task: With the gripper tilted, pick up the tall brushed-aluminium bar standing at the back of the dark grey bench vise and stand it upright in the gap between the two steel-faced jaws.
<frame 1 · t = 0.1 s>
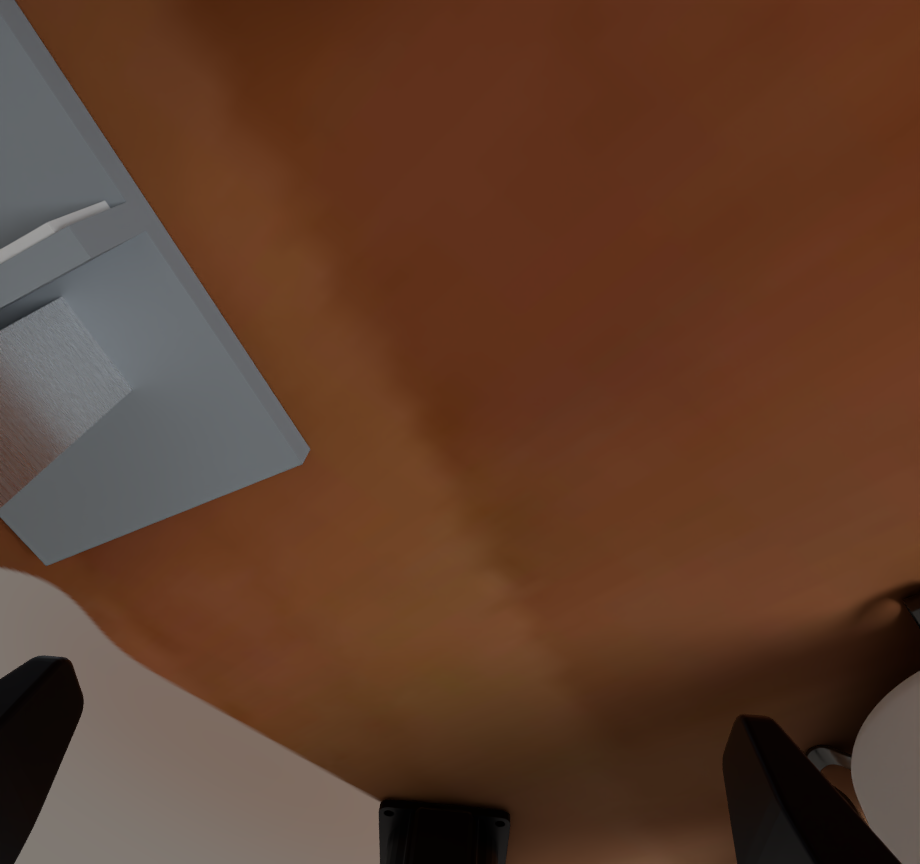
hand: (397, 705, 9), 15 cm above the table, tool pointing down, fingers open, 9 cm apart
vise: (13, 294, 23), on the table
aluminium bar: (46, 370, 23), point 1 cm above the table, touching vise
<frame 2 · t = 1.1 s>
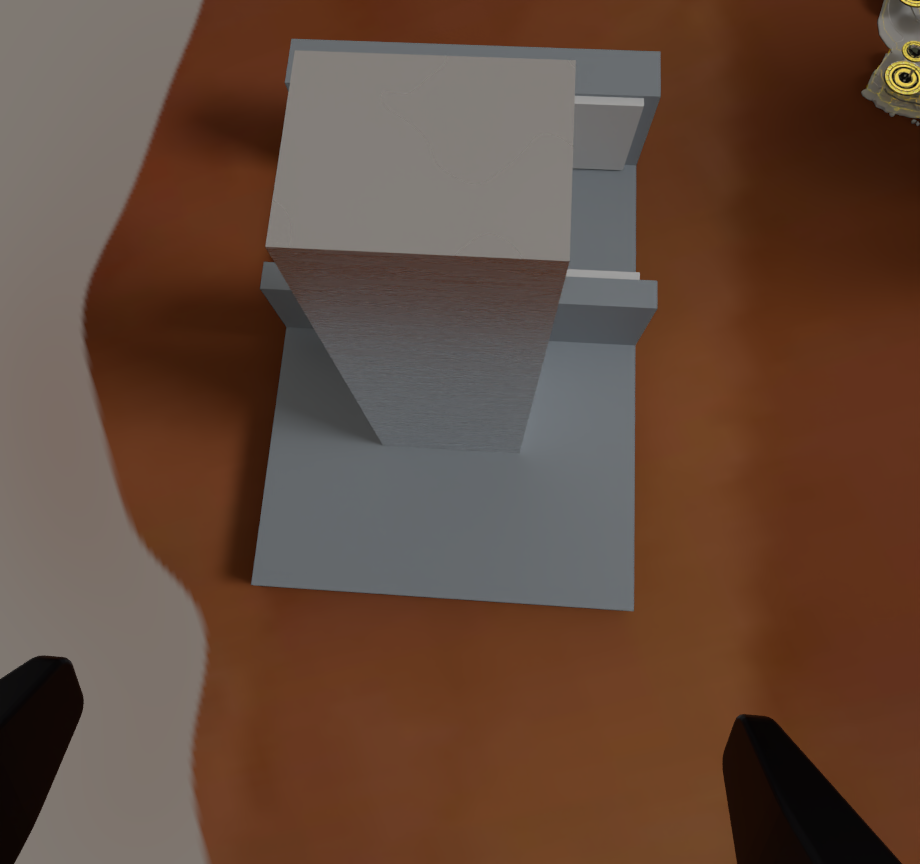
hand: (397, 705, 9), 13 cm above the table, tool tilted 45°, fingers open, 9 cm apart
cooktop: (908, 63, 28), on the table
vise: (460, 340, 25), on the table
aluminium bar: (454, 398, 23), point 1 cm above the table, touching vise
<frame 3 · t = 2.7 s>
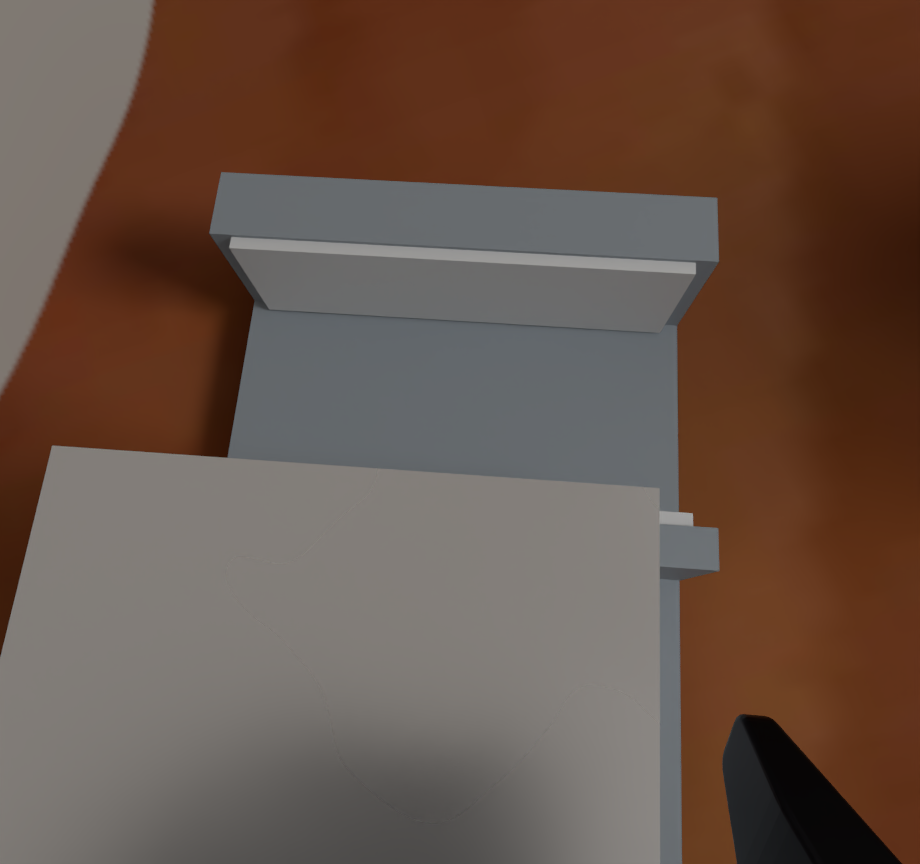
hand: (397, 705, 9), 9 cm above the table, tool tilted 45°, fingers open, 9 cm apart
vise: (444, 556, 19), on the table
aluminium bar: (434, 654, 17), point 1 cm above the table, touching vise
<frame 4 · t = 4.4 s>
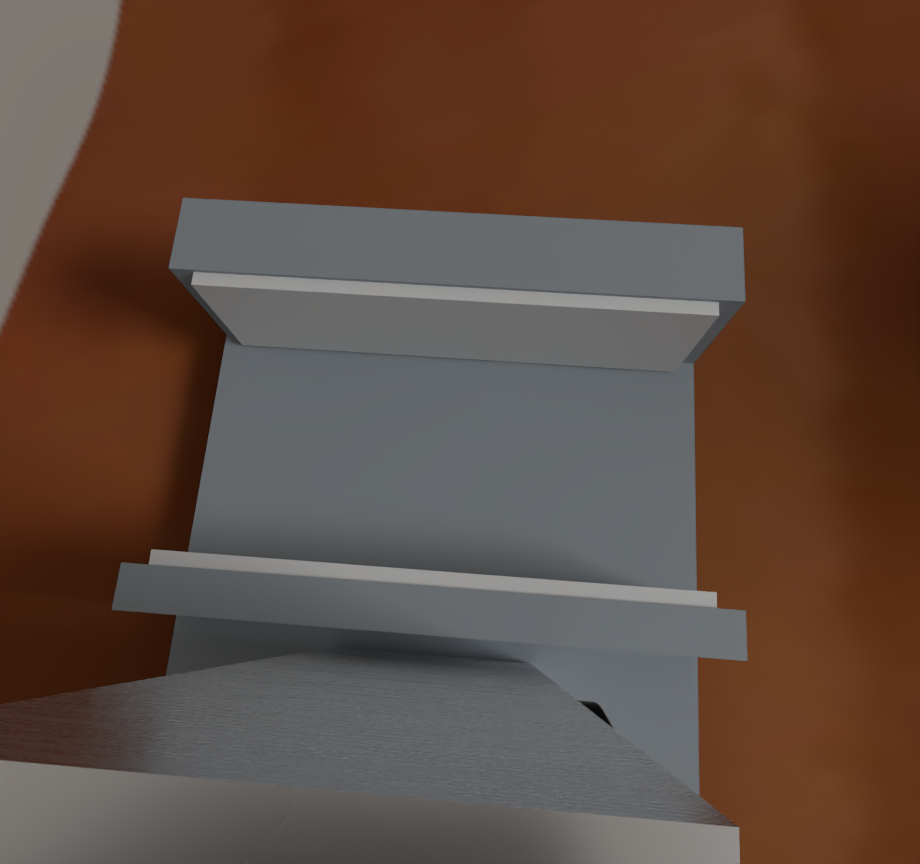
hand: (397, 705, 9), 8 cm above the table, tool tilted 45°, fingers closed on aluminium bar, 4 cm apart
vise: (436, 621, 17), on the table
aluminium bar: (424, 737, 15), point 1 cm above the table, touching gripper, vise
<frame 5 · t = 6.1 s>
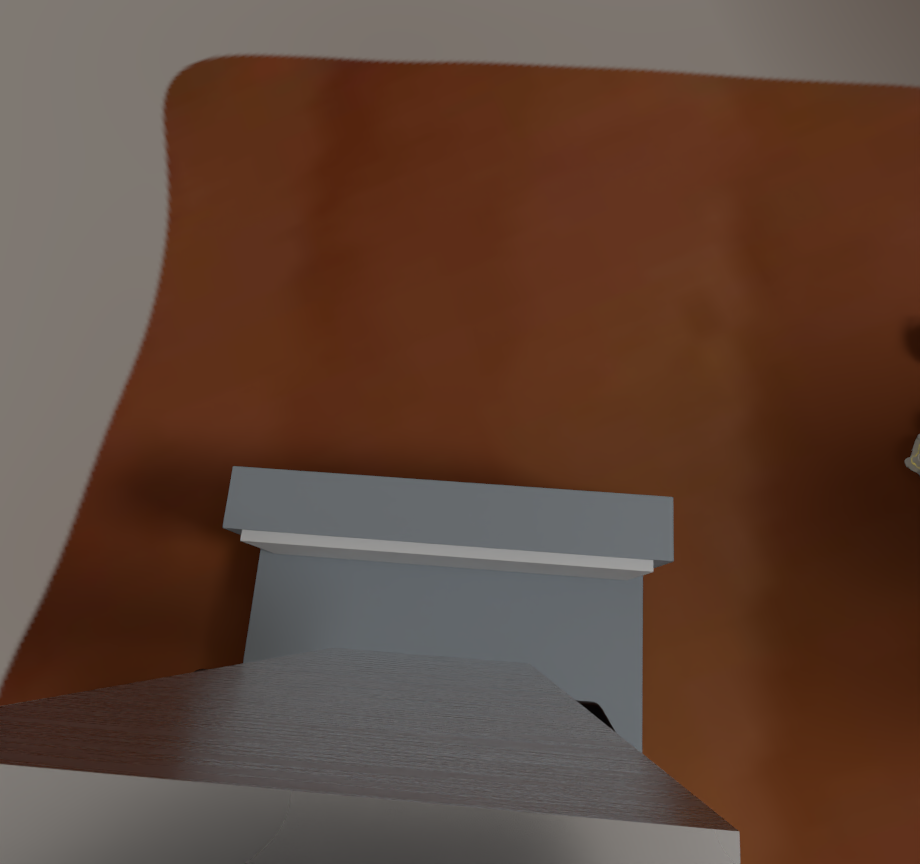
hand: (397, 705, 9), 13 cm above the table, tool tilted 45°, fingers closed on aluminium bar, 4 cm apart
vise: (433, 787, 21), on the table
aluminium bar: (423, 738, 15), point 6 cm above the table, touching gripper
when the fingers open (9 cm above the table, at t = 8.2 s): aluminium bar drops 1 cm, resting on vise.
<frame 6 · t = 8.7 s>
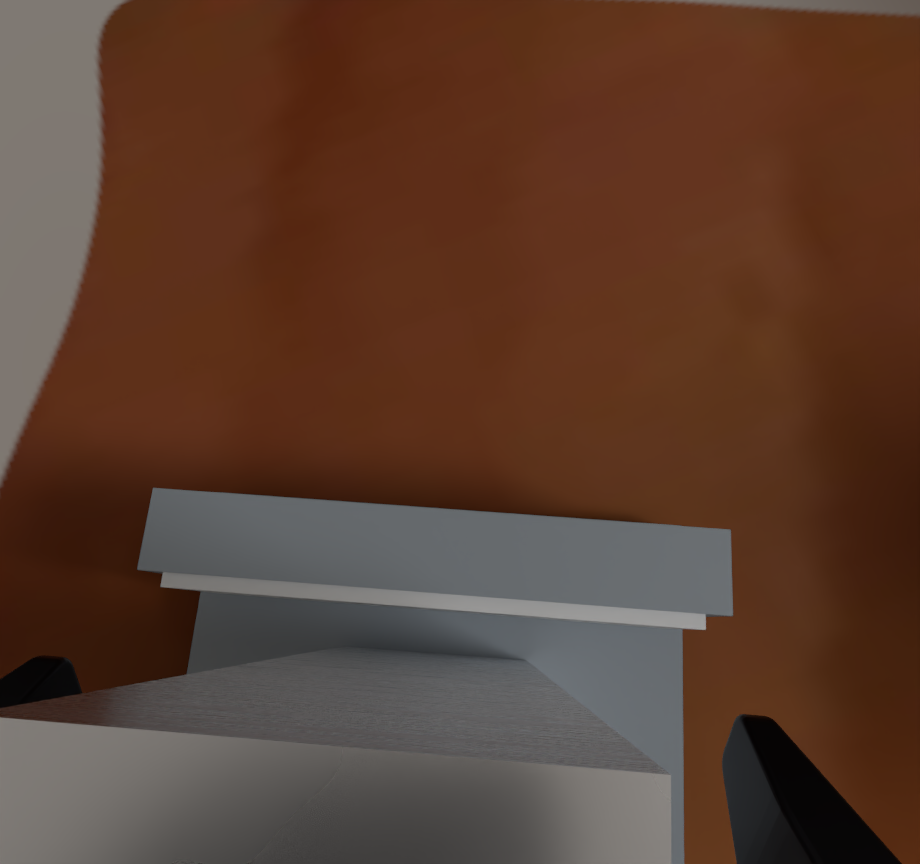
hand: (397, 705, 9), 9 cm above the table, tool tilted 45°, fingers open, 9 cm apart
aluminium bar: (428, 730, 16), point 1 cm above the table, touching vise
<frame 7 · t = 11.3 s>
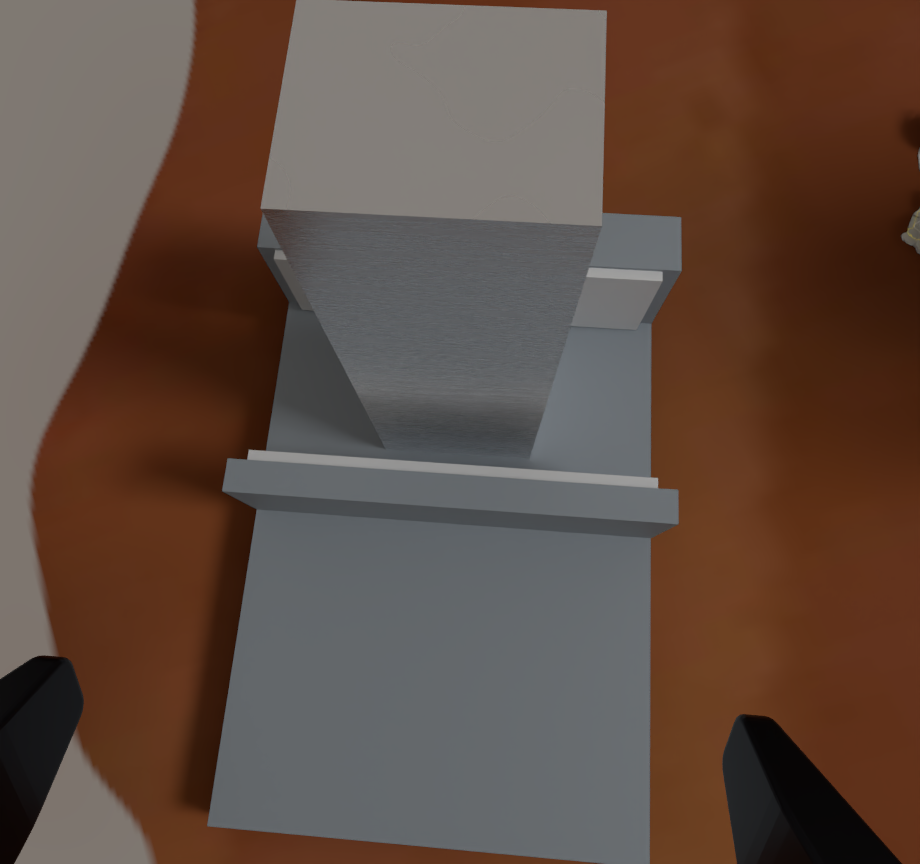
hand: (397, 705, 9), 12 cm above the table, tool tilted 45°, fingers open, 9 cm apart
vise: (452, 520, 22), on the table
aluminium bar: (461, 400, 22), point 1 cm above the table, touching vise
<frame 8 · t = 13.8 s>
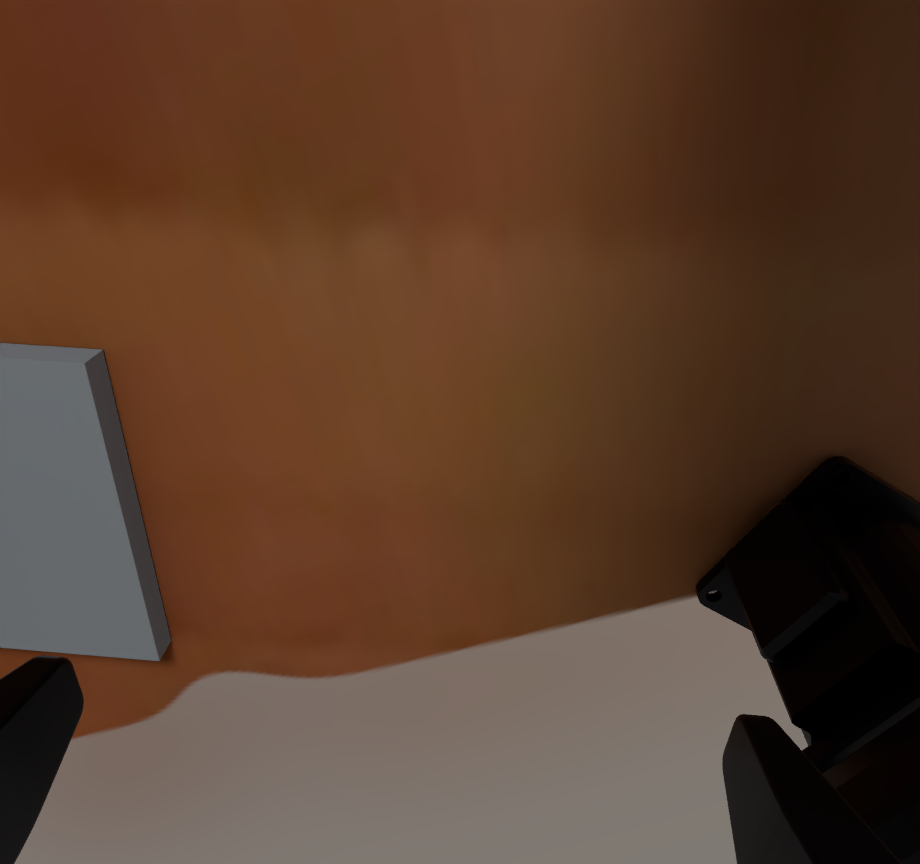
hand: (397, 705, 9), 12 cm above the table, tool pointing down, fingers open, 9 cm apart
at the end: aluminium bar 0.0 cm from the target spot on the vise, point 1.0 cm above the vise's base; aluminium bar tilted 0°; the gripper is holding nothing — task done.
